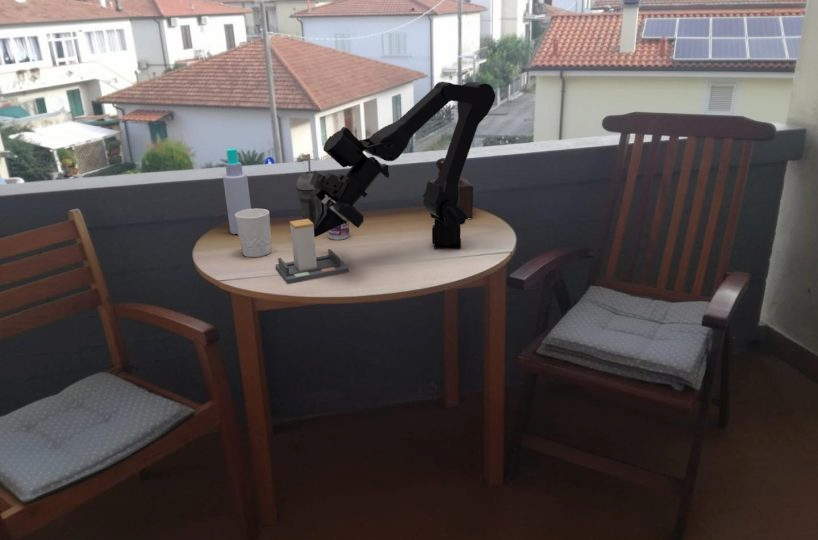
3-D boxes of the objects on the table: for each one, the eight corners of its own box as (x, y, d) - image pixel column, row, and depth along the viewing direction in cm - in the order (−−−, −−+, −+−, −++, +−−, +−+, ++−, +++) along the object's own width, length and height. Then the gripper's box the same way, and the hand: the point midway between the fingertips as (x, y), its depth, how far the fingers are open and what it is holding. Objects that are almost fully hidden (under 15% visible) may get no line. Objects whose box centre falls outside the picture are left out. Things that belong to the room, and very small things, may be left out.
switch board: (334, 258, 148) (333, 246, 147) (349, 271, 139) (348, 259, 138) (275, 268, 142) (274, 256, 141) (287, 283, 134) (286, 270, 133)
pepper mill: (428, 211, 182) (427, 149, 175) (465, 209, 183) (466, 147, 176) (436, 227, 168) (436, 160, 161) (477, 224, 169) (478, 158, 162)
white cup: (278, 248, 155) (274, 209, 152) (265, 259, 148) (260, 218, 144) (249, 246, 157) (244, 207, 153) (234, 257, 150) (229, 217, 146)
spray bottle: (249, 235, 165) (238, 151, 157) (227, 235, 166) (215, 151, 157) (256, 228, 170) (247, 147, 162) (235, 228, 171) (224, 147, 163)
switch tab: (311, 261, 142) (307, 218, 138) (317, 267, 139) (313, 223, 135) (294, 265, 141) (289, 221, 137) (299, 271, 137) (294, 226, 133)
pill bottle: (346, 240, 159) (343, 203, 156) (326, 239, 160) (323, 203, 157) (352, 234, 164) (350, 198, 160) (332, 233, 165) (330, 197, 161)
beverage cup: (296, 233, 165) (289, 158, 158) (304, 225, 172) (297, 152, 165) (323, 234, 164) (317, 158, 157) (330, 225, 171) (324, 152, 164)
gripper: (317, 150, 142) (274, 203, 142) (346, 165, 126) (297, 225, 126) (352, 180, 148) (310, 231, 148) (383, 198, 132) (337, 256, 132)
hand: (312, 235), depth 138 cm, fingers closed, pressing on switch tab
